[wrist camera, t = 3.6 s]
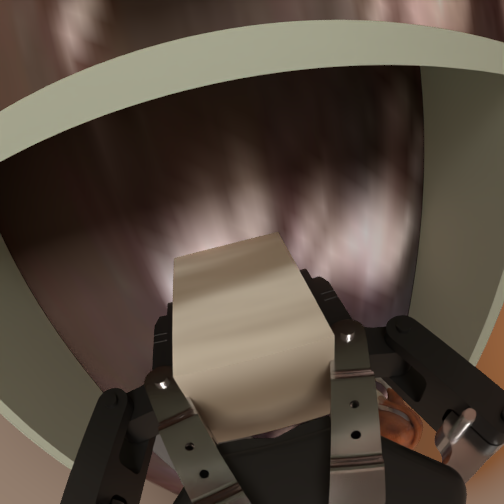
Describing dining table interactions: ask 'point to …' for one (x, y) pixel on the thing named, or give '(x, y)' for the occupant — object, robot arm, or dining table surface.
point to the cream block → (249, 339)
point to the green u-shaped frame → (266, 62)
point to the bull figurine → (397, 419)
